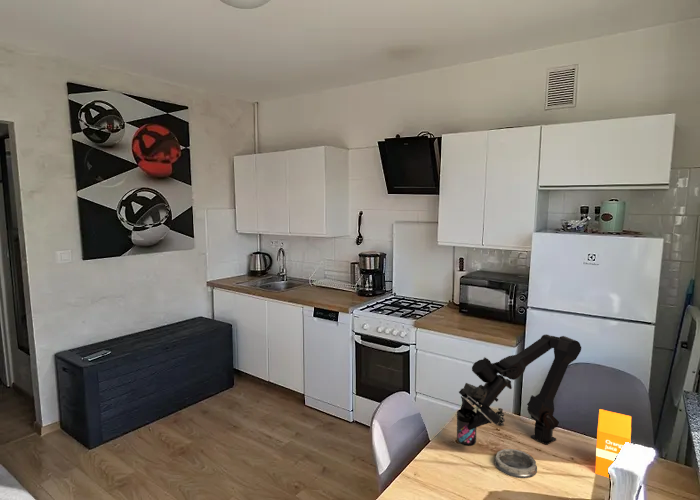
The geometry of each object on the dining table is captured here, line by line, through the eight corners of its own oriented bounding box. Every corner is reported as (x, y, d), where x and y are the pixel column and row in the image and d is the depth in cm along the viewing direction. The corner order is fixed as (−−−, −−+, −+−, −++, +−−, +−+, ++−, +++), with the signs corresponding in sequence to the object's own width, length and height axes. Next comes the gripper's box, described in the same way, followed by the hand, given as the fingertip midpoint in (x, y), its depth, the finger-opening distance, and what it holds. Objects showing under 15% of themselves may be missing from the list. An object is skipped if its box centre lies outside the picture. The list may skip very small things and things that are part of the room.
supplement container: (452, 441, 148) (452, 413, 147) (463, 434, 153) (463, 406, 152) (469, 449, 143) (470, 420, 142) (480, 441, 148) (480, 413, 147)
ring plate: (511, 450, 148) (511, 444, 148) (545, 469, 137) (545, 462, 137) (486, 462, 141) (486, 455, 141) (520, 483, 130) (520, 476, 130)
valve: (472, 427, 164) (504, 429, 163) (473, 411, 164) (504, 412, 163) (469, 419, 171) (499, 420, 170) (469, 403, 170) (500, 404, 169)
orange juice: (597, 462, 141) (600, 404, 139) (629, 471, 136) (632, 411, 134) (594, 473, 135) (597, 413, 133) (627, 484, 130) (631, 421, 128)
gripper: (463, 366, 156) (436, 399, 154) (492, 386, 138) (461, 423, 136) (482, 384, 158) (455, 416, 157) (513, 406, 140) (483, 443, 139)
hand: (463, 424), depth 147 cm, fingers closed on supplement container, 7 cm apart
